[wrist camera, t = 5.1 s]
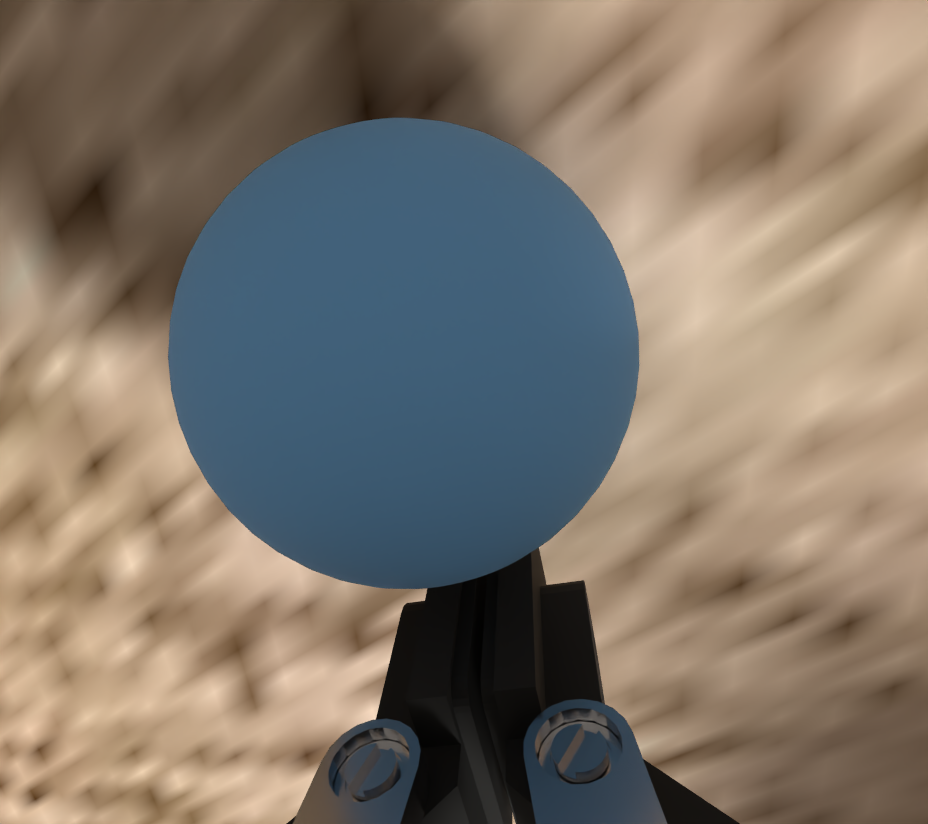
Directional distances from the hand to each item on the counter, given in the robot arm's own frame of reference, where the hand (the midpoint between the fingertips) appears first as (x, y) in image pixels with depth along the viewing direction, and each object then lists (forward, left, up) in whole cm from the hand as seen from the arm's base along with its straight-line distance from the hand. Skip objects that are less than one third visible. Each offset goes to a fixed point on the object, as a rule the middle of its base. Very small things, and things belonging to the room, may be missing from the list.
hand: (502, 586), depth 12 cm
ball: (+5, 0, +1) cm, 5 cm away
